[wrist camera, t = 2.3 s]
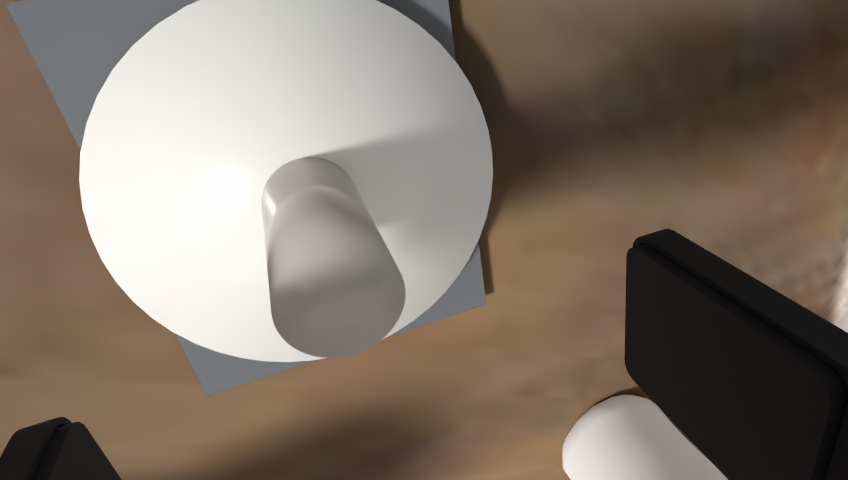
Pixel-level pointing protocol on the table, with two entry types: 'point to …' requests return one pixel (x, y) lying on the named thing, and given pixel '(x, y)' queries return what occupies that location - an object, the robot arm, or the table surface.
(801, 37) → the table surface
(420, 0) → the mat
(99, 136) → the lid
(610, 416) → the cup
